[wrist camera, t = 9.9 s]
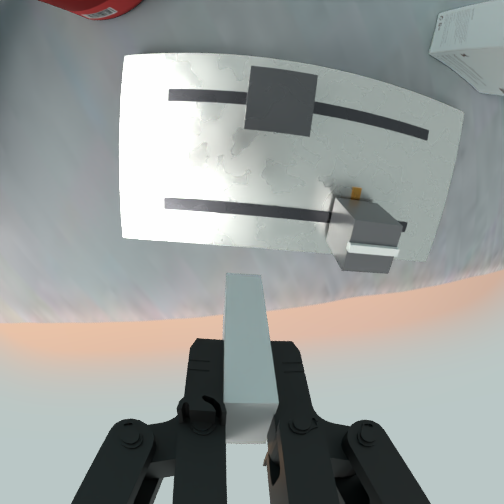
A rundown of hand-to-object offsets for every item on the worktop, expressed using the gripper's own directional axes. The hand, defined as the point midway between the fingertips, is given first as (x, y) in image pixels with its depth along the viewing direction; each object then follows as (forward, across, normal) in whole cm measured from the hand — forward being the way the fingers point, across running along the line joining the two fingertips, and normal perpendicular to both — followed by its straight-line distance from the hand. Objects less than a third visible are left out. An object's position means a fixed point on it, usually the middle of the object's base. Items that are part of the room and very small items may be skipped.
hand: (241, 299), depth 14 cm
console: (+15, +5, +4) cm, 16 cm away
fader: (+12, +10, 0) cm, 15 cm away
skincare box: (+15, +21, +19) cm, 32 cm away
